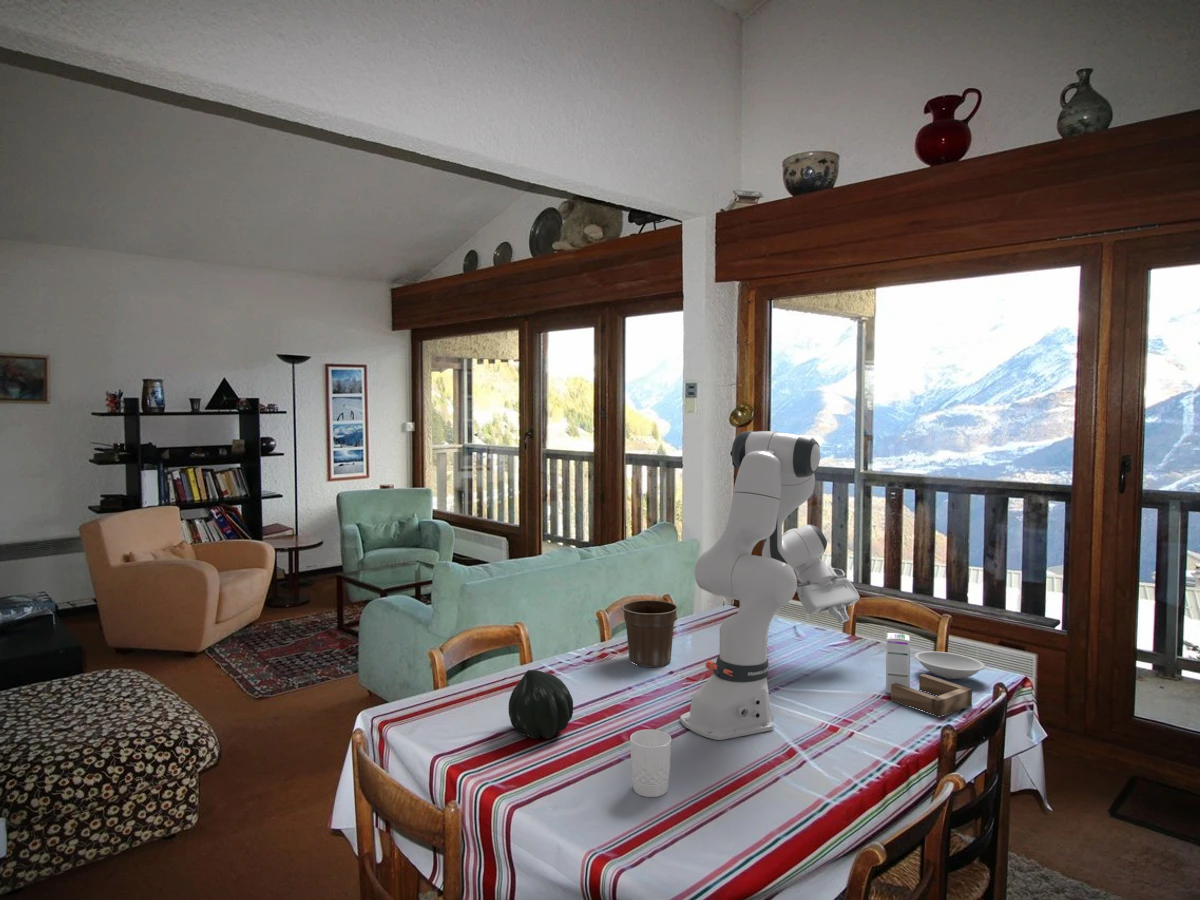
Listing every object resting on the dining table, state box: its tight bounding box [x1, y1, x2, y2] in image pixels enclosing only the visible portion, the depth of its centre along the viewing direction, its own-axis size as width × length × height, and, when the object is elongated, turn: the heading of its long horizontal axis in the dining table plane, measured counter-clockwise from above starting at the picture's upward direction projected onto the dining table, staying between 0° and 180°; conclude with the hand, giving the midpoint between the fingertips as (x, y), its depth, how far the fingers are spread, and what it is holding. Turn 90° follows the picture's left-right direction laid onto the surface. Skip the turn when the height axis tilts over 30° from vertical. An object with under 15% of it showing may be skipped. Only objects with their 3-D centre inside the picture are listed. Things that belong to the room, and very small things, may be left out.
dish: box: [914, 650, 986, 680], centre depth 204 cm, size 18×14×5 cm
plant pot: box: [621, 599, 679, 668], centre depth 217 cm, size 16×16×16 cm
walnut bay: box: [890, 673, 973, 717], centre depth 187 cm, size 14×13×4 cm
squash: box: [508, 669, 574, 740], centre depth 169 cm, size 14×15×15 cm
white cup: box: [629, 728, 672, 798], centre depth 143 cm, size 8×8×10 cm
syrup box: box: [885, 632, 911, 694], centre depth 194 cm, size 6×6×14 cm
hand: (844, 621), depth 208 cm, fingers closed
